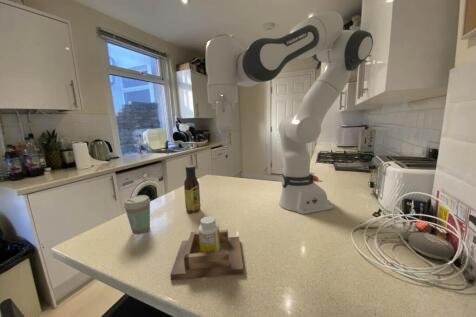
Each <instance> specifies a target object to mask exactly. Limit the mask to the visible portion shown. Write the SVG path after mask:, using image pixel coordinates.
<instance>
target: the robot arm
mask: <svg viewBox="0 0 476 317" xmlns="http://www.w3.org/2000/svg"><path fill="white" fill-rule="evenodd" d="M373 45H374V40H373V35H372V33H371V32H369V31H367V30H363V29H357V30H355V29H353V30H351V29H344V19H343V17H342V16H341V14H340V13H339V12H337V11H334V10H330V11H329V10H328V11H325V12H320V13H317V14H315V15H312V16H309V17H308V18H305V19H304V20H302V21H301V22H299V23H298V24H296V25H295V26H294V27H293V28H291V30H290V31H289V34H286V35H284V36H282V37H278V38H271V37H270V38H268V37H264V38H263V37H261V38H259V39H258V38H257V39H256V40H254V41H253V42H252V43H251V44H250V45H249V46H248V47H247V49H246V48H245V47H243V46H242V45H240V44H239V43H238V42H237V41H236V40H235V39H234V37H233V36H232V35H229V34H220V35H216V36H214V37H212V38H211V39H210V40H208V42H207V44H206V47H205V72H206V75H207V84H206V92H207V103H208V104H209V105H212V110H215V112H216V127H217V128H216V129H217V131H220V137H221V146H223V147H226V146H227V147H228V146H229V131H230V130H231V129H232V116H231V113H232V112H231V110H232V109H233V110H234V107H235V104H236V103H238V102H239V98H238V86H240V87H244V88H248V87H249V88H250V87H254V86H256V85H258V84H261V83H264V82H269V81H272V80H274V79H275V78H276V77H277V76H279V74H280V73H281V72H282V70H283V68H284V67H285V66H286V65H287V64H288V63H290V61H293V60H294V59H299V60H304V59H308V58H312V59H313V60H314V61H316V62H318V63H322V64H323V63H325V64H326V66H325V69H324V70H323V71H322V73H320V75H319V76H318V77H317V78H316V79H315V81H314V82H313V84H312V85H311V87H310V88H309V90H308V91H307V92H306V93H305V95H304V96H303V98H302V102H301V104H300V107H299V108H298V110H297V112H296V113H295V114H294V115H288V116H286V117H284V118H283V119H281V120H280V122H279V125H278V132H279V136H280V144H281V150H282V164H283V165H282V168H283V169H282V174H281V186H282V189H281V194H280V199H279V202H278V205H279V206H280V207H281V208H282V209H285V210H288V211H292V212H296V213H299V214H302V215H306V214H310V213H311V214H312V213H317V212H323V211H324V212H325V211H328V210H334V204H333V203H332V201H330V200H329V198H328V195H327V192H326V190H324V188H322V187H321V186H320V185H318V184H316V183H315V182H318V181H319V177H318V176H316V175H314V176H313V175H312V174H310V172H311V170H310V169H311V155H310V153H309V149H308V145H307V144H309V143H313V142H315V141H316V140H317V139H319V137H320V135H321V132H322V123H323V121H324V119H325V116H326V115H327V113H328V111H329V110H330V109H331V107H332V106H333V105H334V103H335V102H336V100H337V99H338V98H339V97H340V95H341V94H342V93H343V91H344V89H345V87H346V86H347V84H348V82H349V80H350V78H351V74H352V73H351V71H354V70H356V69H357V68H358V67H359V66H360V65H361V64H363V62H364V61H366V59H368V57H369V56H370V54H371V52H372V48H373Z"/></svg>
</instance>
